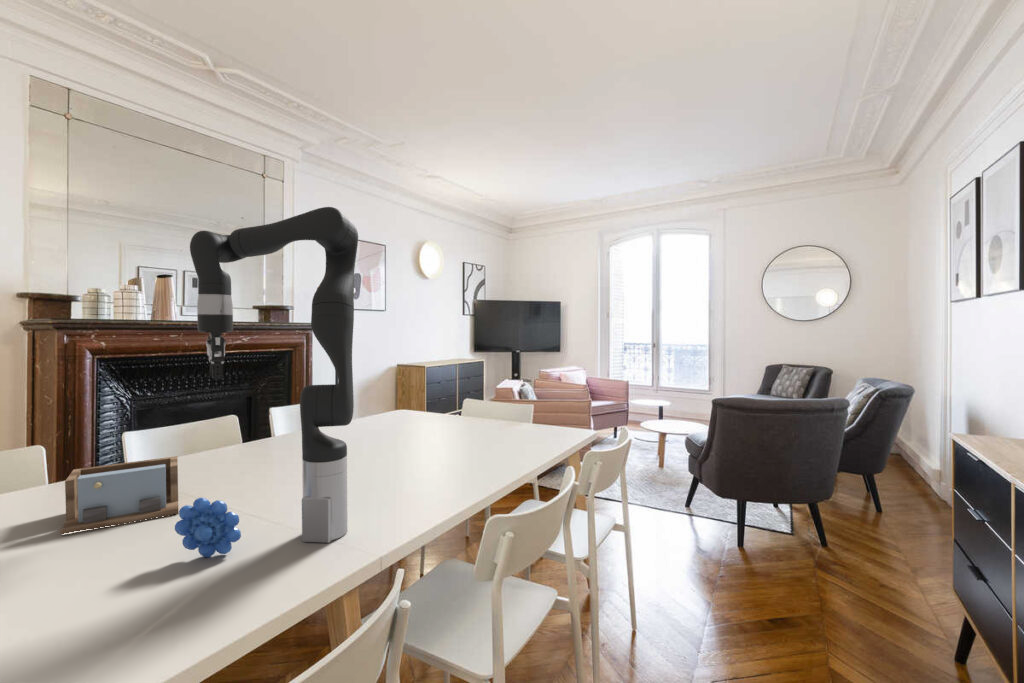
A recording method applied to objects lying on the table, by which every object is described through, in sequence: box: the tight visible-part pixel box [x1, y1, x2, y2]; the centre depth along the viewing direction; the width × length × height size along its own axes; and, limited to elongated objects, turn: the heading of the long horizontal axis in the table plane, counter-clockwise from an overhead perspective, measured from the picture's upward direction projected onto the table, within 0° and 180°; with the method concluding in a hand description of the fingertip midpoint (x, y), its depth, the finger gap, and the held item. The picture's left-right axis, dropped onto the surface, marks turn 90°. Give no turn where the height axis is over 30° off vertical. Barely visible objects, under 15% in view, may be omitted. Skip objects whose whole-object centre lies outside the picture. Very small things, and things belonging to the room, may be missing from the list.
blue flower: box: [174, 497, 242, 558], centre depth 94 cm, size 12×7×12 cm, turn 104°
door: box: [77, 464, 166, 523], centre depth 112 cm, size 4×16×10 cm, turn 126°
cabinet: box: [60, 456, 179, 535], centre depth 116 cm, size 17×21×10 cm
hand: (216, 377), depth 119 cm, fingers open, 8 cm apart
